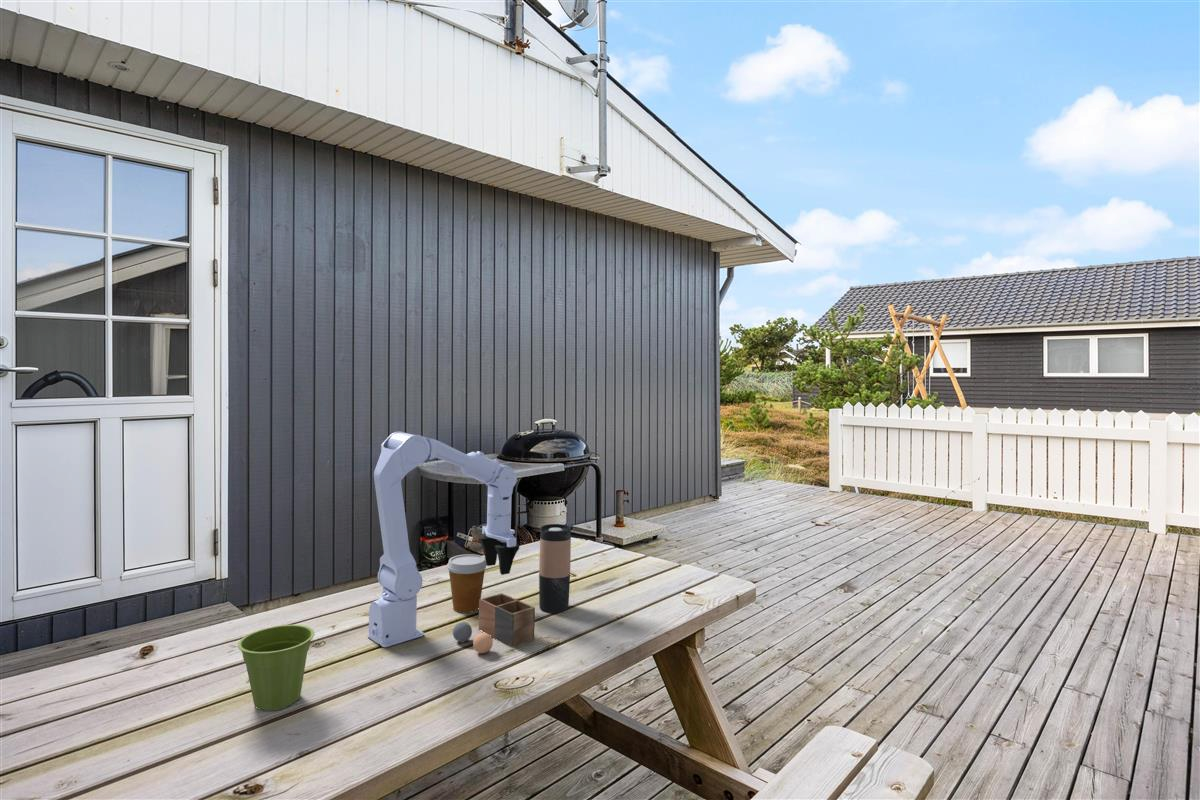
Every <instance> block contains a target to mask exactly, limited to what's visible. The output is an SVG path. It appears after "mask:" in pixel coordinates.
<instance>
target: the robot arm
mask: <svg viewBox="0 0 1200 800" xmlns="http://www.w3.org/2000/svg"><path fill="white" fill-rule="evenodd" d="M380 446H381V447H380V448H381V451H380V455H379V458H378V460H377V463H376V466H375V469H374V472H373V480H374V488H375V494H376V495H375V496H376V503H377V511H378V518H379V526H380V532H381V533H380V534H381V539H382V549H383V554H382V555H381V556H380V558H379V570H378V572H377V581H378V583H379V585H380V586H382V592H381V593H382V594H381V596H380V598H378V599H377V600H374V601H372V602H371V603H370V605H369V609H368V633H367V635H366V636H367V637H368V639H371V640H372V641H374V642H375V643H377V645H379V644H380V646H381V647H382V648H388V647H391V646H394V645H398V644H402V643H405V642H408V641H411V640H414V639H417V638H420V637H423V635H424V636H425V632H423V631H422V630H420V629H419V628H417V618H418V617H417V615H418V613H417V611H418V610H417V609H418V608H417V606H418V605H417V604H418V603H417V602H418V601H417V600H418V599H417V597H418V593H419V592H420V591H421V589H422V587H423V577H422V574H421V573H420V572H419V569H418V568H417V562H416V560H415V558H414V556H413V554H412V552H411V550H410V544H409V543H410V542H409V536H408V526H407V519H406V512H405V502H404V495H403V494H404V493H403V488H402V487H403V486H402V480H403V479H404V477H405V476H407V474H408V473H409V472H411V471H412V470H414V469H416V468H417V467H419V466H420V465H422V464H423V463H424V462H425V461H427V460H430V461H432V460H434V459H439V460H442V461H443V462H447V463H450V464H452V465H454V466H457V467H459V468H460V470H461V473H462V474H463V475H464V476H467V477H469V478H472V479H474V480H477V481H479V482H480V483H483V484H485V485H486V487H487V507H486V510H487V513H486V525H482V526H481V527H482V529H481V532H482V533H481V534H483V535H481V536H479V537H478V541H479V543H480V545H481V548H482V550H483V555H484V558H485V561H486V563H487V566H486V567H491V566H495V565H496V564H497V560H498V565H499V573H500V575H501V576H503V575H509V574H510V572H511V569H512V565H513V562H514V559H515V557H516V554H517V553H518V551H519V549H520V545H519V544H517V537H515V536H514V534H515V533H516V531H515V529H511V528H512V527H511V525H512V522H511V521H512V494H513V491H514V486H515V485H516V483H517V480H518V476H516V473H515V470H514V468H512V466H509V465H505V464H501V463H500V460H498V459H496V458H494V459H491V458H490V457H487V456H485V453H484V452H482V451H471V452H469V453H464V452H462V451H460V450H458V449H456V448H454V447H452V446H450V445H448V444H447V443H443V442H442V441H439V440H437V439H434V438H429V437H424V436H423V435H419V434H411V433H406V432H404V431H399V430H398V431H394V432H393V433H391V434H389V436H388V437H387V438H386V439H385V440H384V441H383V442H382V443H381V445H380ZM500 543H502V544H500Z"/></svg>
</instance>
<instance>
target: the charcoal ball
mask: <svg viewBox="0 0 1200 800" xmlns="http://www.w3.org/2000/svg"><path fill="white" fill-rule="evenodd" d="M472 634H473V629H472V627H471V625H470V624H469V623H468V622H464V621H462V622H458V623H457V624H456V625H455V626H454V627H453V630H452V635H453V638H454V639H455V640H456V641H457V642H459V643H464V642H467V641H468V640H470V638H471V637H472Z"/></svg>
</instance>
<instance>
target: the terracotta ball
mask: <svg viewBox="0 0 1200 800" xmlns="http://www.w3.org/2000/svg"><path fill="white" fill-rule="evenodd" d="M472 644H473V648H474V650H475V652H477V653H478V654H486V653H488V652H490V651H491V649H492V647H493V644H494V640H493V637H491V636H490V635H489V634H487V633H483V632H480V633H478V634H477V635H476V636H475V637H474V639H473V642H472Z"/></svg>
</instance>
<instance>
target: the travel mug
mask: <svg viewBox="0 0 1200 800" xmlns="http://www.w3.org/2000/svg"><path fill="white" fill-rule="evenodd" d="M539 537H540V539H539V563H538V564H539V565H538V566H539V567H538V568H539V570H538V571H539V572H538V573H539V574H538V579H539V580H538V590H539V591H538V593H539V594H538V597H539V601H538V602H539V604H538V605H539V610H540V611H542V612H544V613H549V614H559V613H560V612H561V613H563V611H564V612H566V611H568V610H569V604H570V603H569V602H570V586H571V585H570V583H571V558H572V557H571V551H572V550H571V547H572V546H571V545H572V544H571V543H572V542H571V541H572V528H571V526H569V525H567V524H562V523H561V524H560V523H549V524H544V525H542V526H540V534H539Z"/></svg>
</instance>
